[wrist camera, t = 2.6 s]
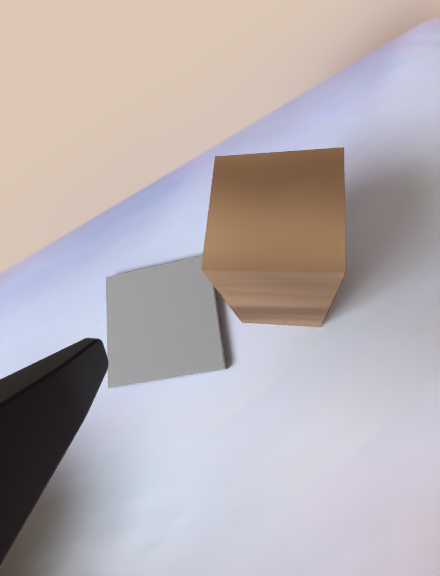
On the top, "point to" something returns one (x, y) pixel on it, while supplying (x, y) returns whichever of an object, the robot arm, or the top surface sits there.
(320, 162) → the walnut block
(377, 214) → the top surface
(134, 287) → the slate tile
